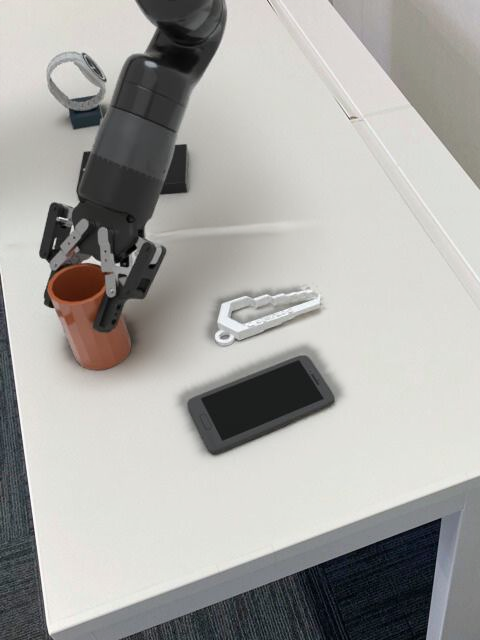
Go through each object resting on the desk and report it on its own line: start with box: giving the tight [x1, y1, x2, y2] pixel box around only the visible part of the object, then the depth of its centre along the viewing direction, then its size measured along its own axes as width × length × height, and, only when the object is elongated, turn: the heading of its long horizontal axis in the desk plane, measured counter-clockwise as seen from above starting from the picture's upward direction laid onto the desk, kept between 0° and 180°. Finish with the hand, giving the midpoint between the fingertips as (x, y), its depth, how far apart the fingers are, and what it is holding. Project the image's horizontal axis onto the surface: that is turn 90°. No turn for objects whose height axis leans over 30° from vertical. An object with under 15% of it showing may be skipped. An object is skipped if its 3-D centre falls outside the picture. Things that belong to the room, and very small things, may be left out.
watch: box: [46, 51, 108, 131], centre depth 111 cm, size 6×8×11 cm
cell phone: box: [187, 354, 336, 455], centre depth 79 cm, size 7×14×1 cm, turn 118°
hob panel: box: [75, 143, 190, 202], centre depth 104 cm, size 14×9×3 cm, turn 97°
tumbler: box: [47, 262, 132, 371], centre depth 81 cm, size 6×6×10 cm
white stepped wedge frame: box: [214, 289, 322, 347], centre depth 88 cm, size 13×5×2 cm, turn 117°
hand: (76, 318), depth 79 cm, fingers closed on tumbler, 6 cm apart
